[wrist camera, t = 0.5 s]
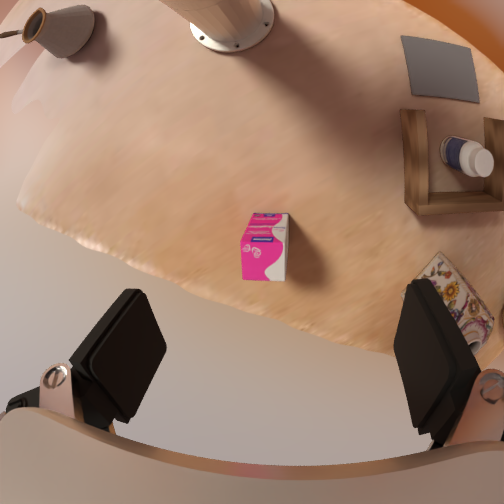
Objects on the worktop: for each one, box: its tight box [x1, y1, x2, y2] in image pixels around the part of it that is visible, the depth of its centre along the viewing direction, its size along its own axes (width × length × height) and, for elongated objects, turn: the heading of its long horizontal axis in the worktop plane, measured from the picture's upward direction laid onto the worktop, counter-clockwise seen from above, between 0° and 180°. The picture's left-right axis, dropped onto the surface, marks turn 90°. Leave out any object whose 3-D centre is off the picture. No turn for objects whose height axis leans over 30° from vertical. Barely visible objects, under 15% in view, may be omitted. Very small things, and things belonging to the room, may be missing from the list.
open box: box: [400, 110, 504, 216], centre depth 31 cm, size 15×19×6 cm
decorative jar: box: [401, 252, 494, 355], centre depth 37 cm, size 12×12×18 cm
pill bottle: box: [440, 136, 494, 177], centre depth 29 cm, size 5×5×10 cm
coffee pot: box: [0, 5, 95, 58], centre depth 24 cm, size 21×12×15 cm, turn 72°
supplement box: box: [240, 213, 289, 281], centre depth 40 cm, size 6×6×12 cm
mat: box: [401, 35, 480, 103], centre depth 27 cm, size 10×14×1 cm
